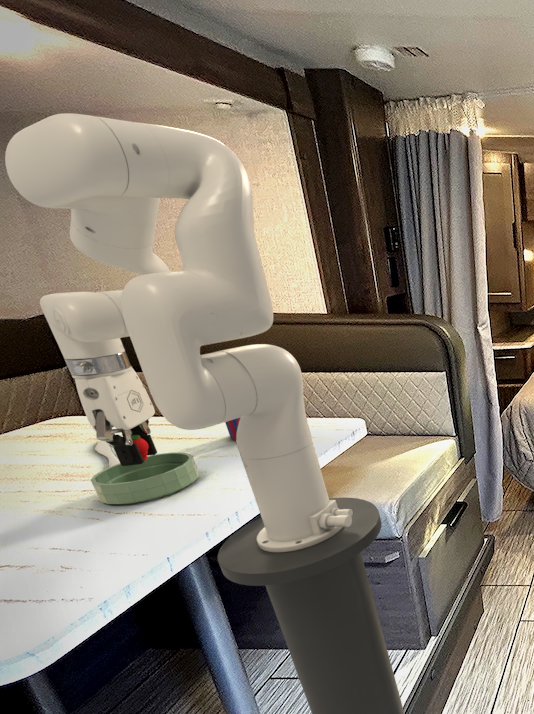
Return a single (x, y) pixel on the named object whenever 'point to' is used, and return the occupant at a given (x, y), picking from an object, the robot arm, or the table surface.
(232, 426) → the mug
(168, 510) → the table surface
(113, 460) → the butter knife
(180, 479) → the bowl
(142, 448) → the strawberry
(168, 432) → the table surface
